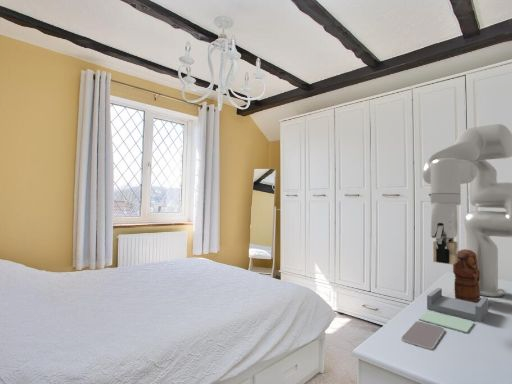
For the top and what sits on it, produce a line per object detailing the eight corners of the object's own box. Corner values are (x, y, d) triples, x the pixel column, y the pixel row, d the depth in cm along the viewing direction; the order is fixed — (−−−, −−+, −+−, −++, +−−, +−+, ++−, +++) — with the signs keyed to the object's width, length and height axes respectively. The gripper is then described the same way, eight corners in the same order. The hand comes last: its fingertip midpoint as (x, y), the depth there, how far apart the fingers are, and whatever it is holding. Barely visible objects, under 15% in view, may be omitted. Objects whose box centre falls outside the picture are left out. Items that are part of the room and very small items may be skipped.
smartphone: (399, 338, 76) (416, 320, 87) (399, 342, 76) (416, 323, 87) (432, 348, 71) (445, 328, 82) (432, 352, 71) (445, 331, 82)
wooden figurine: (473, 305, 101) (472, 252, 101) (451, 300, 106) (451, 250, 106) (483, 298, 108) (482, 249, 108) (462, 294, 113) (462, 246, 113)
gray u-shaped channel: (437, 300, 106) (437, 287, 106) (487, 311, 96) (487, 297, 96) (427, 309, 97) (427, 295, 98) (480, 322, 87) (480, 307, 87)
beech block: (438, 259, 91) (438, 240, 91) (457, 262, 88) (457, 241, 88) (433, 261, 88) (433, 241, 88) (453, 264, 84) (453, 243, 84)
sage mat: (428, 312, 95) (428, 310, 95) (474, 323, 86) (474, 322, 86) (418, 319, 89) (418, 318, 89) (467, 333, 80) (467, 331, 80)
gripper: (439, 200, 97) (439, 255, 96) (421, 199, 85) (422, 263, 85) (467, 200, 91) (467, 259, 91) (452, 200, 80) (452, 268, 79)
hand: (445, 260), depth 88 cm, fingers closed on beech block, 5 cm apart
